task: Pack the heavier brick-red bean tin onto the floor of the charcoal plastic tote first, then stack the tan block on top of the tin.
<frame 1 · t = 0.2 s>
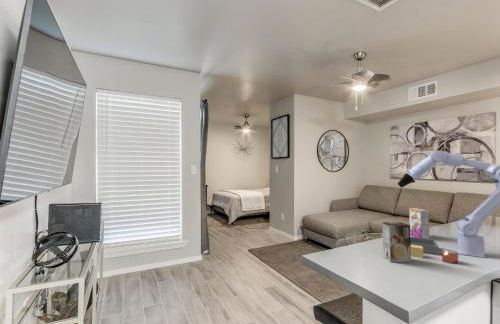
hand: (399, 185, 133), 31 cm above the counter, tool tilted 45°, fingers open, 7 cm apart
tan block: (416, 256, 115), on the counter
coffee box: (396, 260, 110), on the counter
tote: (420, 248, 125), on the counter
bean tin: (450, 261, 108), on the counter
candy bar box: (419, 237, 147), on the counter
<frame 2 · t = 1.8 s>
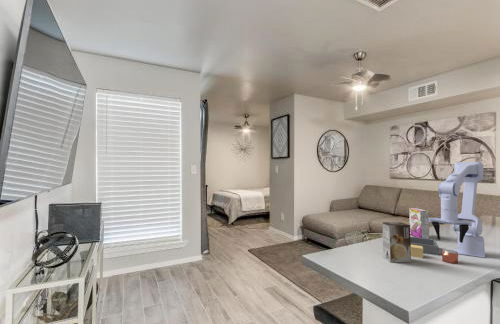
hand: (449, 240, 108), 9 cm above the counter, tool pointing down, fingers open, 7 cm apart
nothing on the counter moved.
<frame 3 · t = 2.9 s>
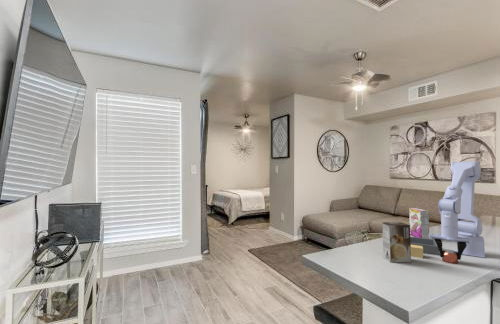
hand: (450, 257, 108), 2 cm above the counter, tool pointing down, fingers closed on bean tin, 5 cm apart
bean tin: (450, 261, 108), on the counter, touching gripper
everything else where it was.
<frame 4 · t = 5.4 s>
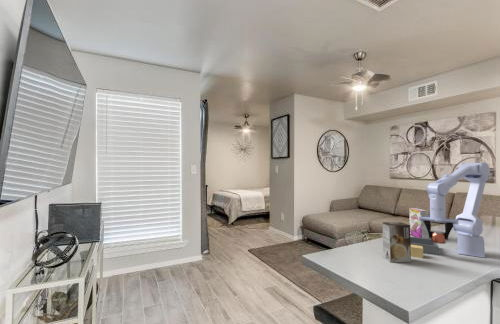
hand: (438, 238, 114), 8 cm above the counter, tool pointing down, fingers closed on bean tin, 5 cm apart
bean tin: (438, 241, 114), point 7 cm above the counter, touching gripper
everything else where it was.
when the fingers open (3 cm above the counter, at t = 7.8 s): bean tin drops 1 cm, resting on tote.
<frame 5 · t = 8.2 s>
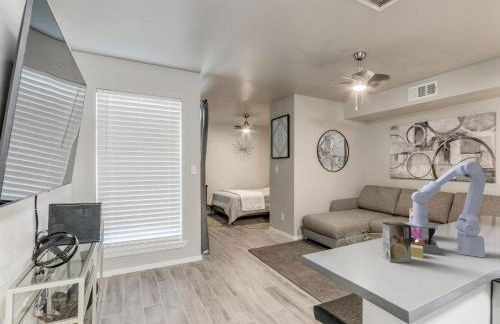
hand: (419, 242, 125), 3 cm above the counter, tool pointing down, fingers open, 7 cm apart
bean tin: (420, 247, 125), point 1 cm above the counter, touching tote
everything else where it was.
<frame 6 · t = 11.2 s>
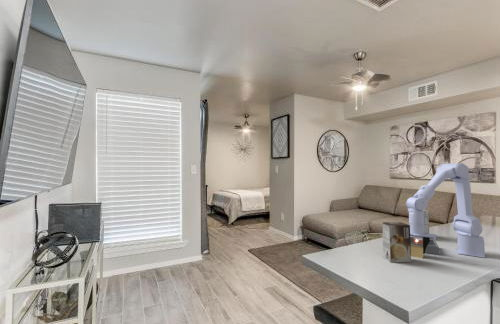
hand: (416, 252, 115), 1 cm above the counter, tool pointing down, fingers closed on tan block, 5 cm apart
tan block: (416, 255, 115), on the counter, touching gripper
everything else where it was.
when the fingers open (8 cm above the counter, at t = 15.0 s): tan block drops 1 cm, resting on bean tin.
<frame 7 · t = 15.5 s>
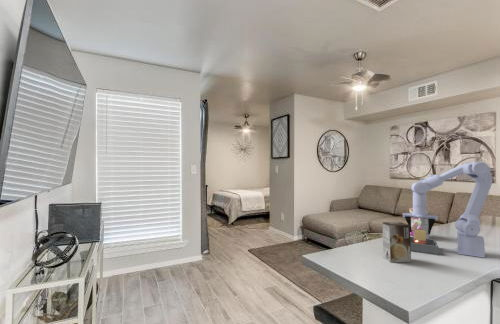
hand: (419, 232, 125), 8 cm above the counter, tool pointing down, fingers open, 7 cm apart
tan block: (419, 238, 125), point 5 cm above the counter, touching bean tin
bean tin: (419, 247, 125), resting on tote, touching tan block
everything else where it was.
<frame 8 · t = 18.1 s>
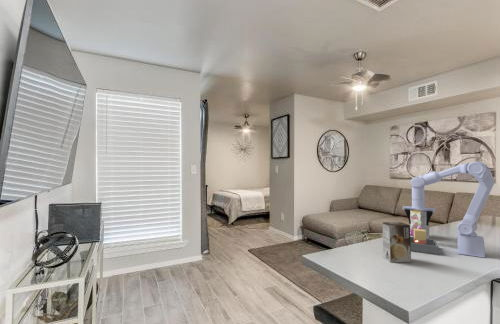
hand: (418, 224, 134), 10 cm above the counter, tool pointing down, fingers open, 7 cm apart
nothing on the counter moved.
at the end: bean tin inside the target area on the tote (0.2 cm from its centre), point 0.5 cm above the tote's base; tan block 0.1 cm off-centre on the bean tin, point 4.6 cm above the bean tin's base; tan block tilted 0° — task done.
